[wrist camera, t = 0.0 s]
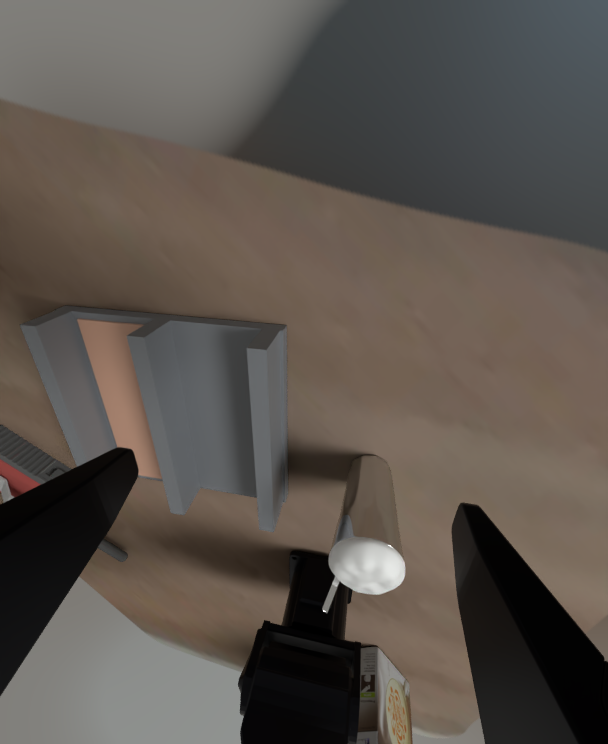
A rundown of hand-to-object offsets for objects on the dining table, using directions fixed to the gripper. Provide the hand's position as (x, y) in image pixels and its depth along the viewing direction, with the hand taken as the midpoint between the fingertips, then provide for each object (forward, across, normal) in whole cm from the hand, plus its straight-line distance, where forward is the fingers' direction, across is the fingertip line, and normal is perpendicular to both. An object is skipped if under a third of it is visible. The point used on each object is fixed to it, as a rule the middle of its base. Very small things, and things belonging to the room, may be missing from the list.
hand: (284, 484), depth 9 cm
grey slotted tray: (+15, +12, +9) cm, 21 cm away
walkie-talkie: (+15, +28, +23) cm, 40 cm away
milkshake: (+15, -3, +13) cm, 20 cm away
